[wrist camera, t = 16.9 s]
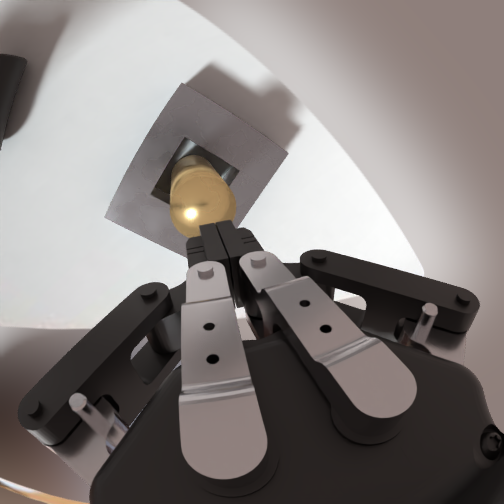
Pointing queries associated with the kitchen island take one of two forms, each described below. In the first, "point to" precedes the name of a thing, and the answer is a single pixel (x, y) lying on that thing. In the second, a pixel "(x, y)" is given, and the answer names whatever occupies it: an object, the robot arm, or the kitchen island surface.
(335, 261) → the robot arm
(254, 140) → the jig
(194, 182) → the gold cylinder
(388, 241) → the kitchen island surface
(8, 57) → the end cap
